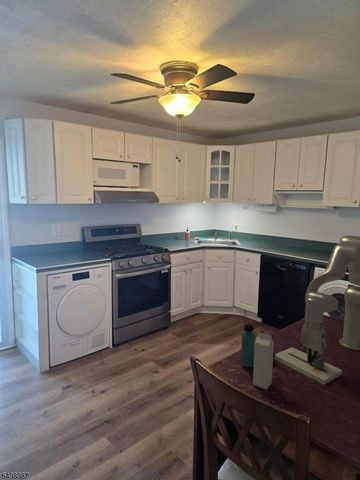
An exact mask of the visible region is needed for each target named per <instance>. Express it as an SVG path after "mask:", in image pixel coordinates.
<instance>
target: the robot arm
mask: <svg viewBox="0 0 360 480" xmlns="http://www.w3.org/2000/svg"><path fill="white" fill-rule="evenodd" d="M347 270H348V271H347ZM347 272H348V275H347V276H348V278H347V279H348V282H349V283H350V284H351V285H354V286H348V287H347V288H345V290H344V293H343V296H344V319H343V320H344V321H343V330H342V337H341V338H339V341H338V342H339V344H340V345H341V346H343V347H345V348H346V349H350V350H353V351H354V350H355V351H360V236H357V235H344V236H341V237H340V240H339V243H338V244H335V246H334V247H333V248H332V251H331V255H330V257H329V259H328V262H327V264H326V267H325V270H324V271H323V272H321V273H320V274H318V275H316V276H315V278H313V279H312V280H311V281H310V282H309V285H308V287H307V290H306V292H305V294H304V295H305V296H304V302H305V310H304V323H303V325H302V329H301V332H300V346H302V347H303V348H304V350H305V353H306V354H308V355H307V359H308V361H307V362H308V363H310V364H311V363H313V359H315V358H316V356H317V355H323V354H324V350H325V349H326V345H327V344H326V331H325V328H326V325H324V313H332V312H334V311H336V310H337V309H338V307H339V300H338V298H337V297H335V296H333V295H330V294H326V293H323V292H320V291H319V289H320V288H321V287H322V286H323V285H324V284H327V283H329V282H336V281H340V280H343V279H344V278H345V276H346V274H347Z"/></svg>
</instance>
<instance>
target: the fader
mask: <svg viewBox="0 0 360 480" xmlns="http://www.w3.org/2000/svg"><path fill="white" fill-rule="evenodd" d="M324 362H325V359H324V358H322V357H320V356H317V357H315V359H313V367H314V368H317V369H321V368H323V367H324ZM325 363H326V362H325Z"/></svg>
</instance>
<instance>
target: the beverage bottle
mask: <svg viewBox="0 0 360 480" xmlns="http://www.w3.org/2000/svg"><path fill="white" fill-rule="evenodd" d="M243 330H244V331H243V332H242V333H241V348H240V349H241V352H240V353H241V354H240V355H241V357H240V363H241V365H242V367H243V366H244V367H246V368H254V345H255V340H256V338H257V336H256V334H255V333H254V325H252V324H250V323H248V324H245V325H244V328H243Z"/></svg>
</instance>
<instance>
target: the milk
mask: <svg viewBox="0 0 360 480" xmlns="http://www.w3.org/2000/svg"><path fill="white" fill-rule="evenodd" d="M274 343H275V341H274V340H273V339H272V335H269V334H265V333H262V332H257V336H256V339H255V345H254V366H253V370H252V371H253V373H252V385H253V386H256V387H258V388H261V389H264V390H266V391H267V390H268V389H269V387H270V386H271V385H272V383H273V382H272V381H273V361H274V358H273V357H274V356H273V353H274Z"/></svg>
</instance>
